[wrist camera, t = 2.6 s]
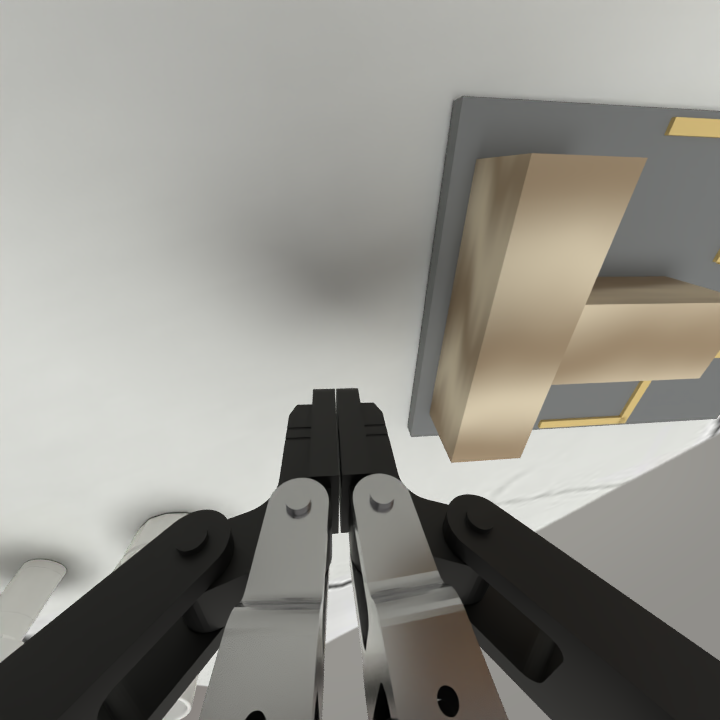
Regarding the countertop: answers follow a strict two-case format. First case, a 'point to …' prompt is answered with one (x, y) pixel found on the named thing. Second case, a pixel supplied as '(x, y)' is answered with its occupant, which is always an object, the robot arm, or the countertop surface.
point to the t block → (553, 302)
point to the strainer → (26, 601)
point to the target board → (626, 253)
